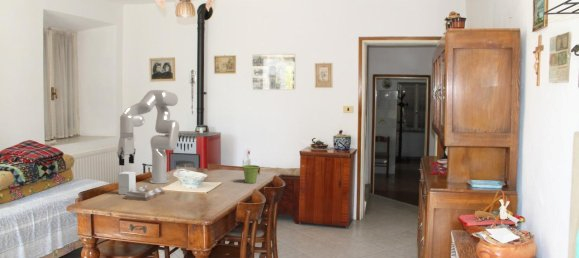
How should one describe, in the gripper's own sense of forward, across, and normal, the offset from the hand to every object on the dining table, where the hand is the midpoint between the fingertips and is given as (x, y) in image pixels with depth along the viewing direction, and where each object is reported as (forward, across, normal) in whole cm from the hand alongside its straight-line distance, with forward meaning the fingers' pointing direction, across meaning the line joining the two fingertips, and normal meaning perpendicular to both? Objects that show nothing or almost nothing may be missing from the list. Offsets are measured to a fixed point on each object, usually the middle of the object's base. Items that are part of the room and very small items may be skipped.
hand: (126, 164), depth 279 cm
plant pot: (+17, -58, +58) cm, 84 cm away
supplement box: (+18, -1, 0) cm, 18 cm away
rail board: (+18, +2, +14) cm, 23 cm away
